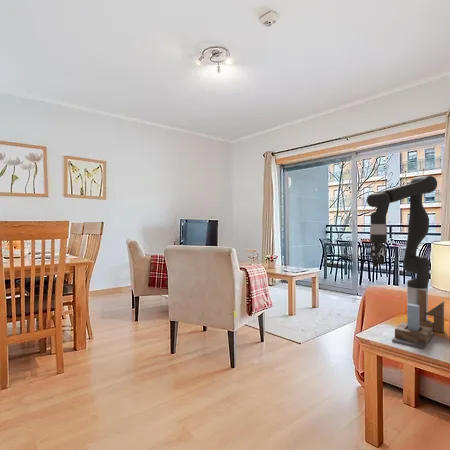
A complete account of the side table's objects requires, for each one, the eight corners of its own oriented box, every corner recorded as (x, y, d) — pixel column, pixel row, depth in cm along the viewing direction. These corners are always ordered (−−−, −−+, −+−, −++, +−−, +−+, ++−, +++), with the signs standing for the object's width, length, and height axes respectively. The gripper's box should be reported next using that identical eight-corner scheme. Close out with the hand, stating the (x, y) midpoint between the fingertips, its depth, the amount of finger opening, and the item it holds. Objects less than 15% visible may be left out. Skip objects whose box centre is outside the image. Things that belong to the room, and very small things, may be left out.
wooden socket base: (405, 328, 154) (405, 319, 153) (434, 335, 145) (434, 325, 145) (392, 341, 139) (392, 331, 139) (423, 349, 131) (423, 338, 131)
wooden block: (442, 333, 147) (442, 294, 147) (416, 327, 155) (416, 291, 154) (444, 330, 150) (444, 293, 149) (418, 325, 158) (418, 289, 157)
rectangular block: (409, 333, 145) (409, 303, 144) (419, 336, 142) (419, 305, 141) (407, 335, 143) (407, 305, 142) (417, 338, 140) (417, 306, 139)
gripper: (381, 234, 150) (381, 268, 150) (391, 232, 160) (391, 264, 160) (365, 233, 155) (365, 266, 155) (375, 232, 165) (375, 263, 166)
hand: (378, 265), depth 158 cm, fingers open, 8 cm apart
